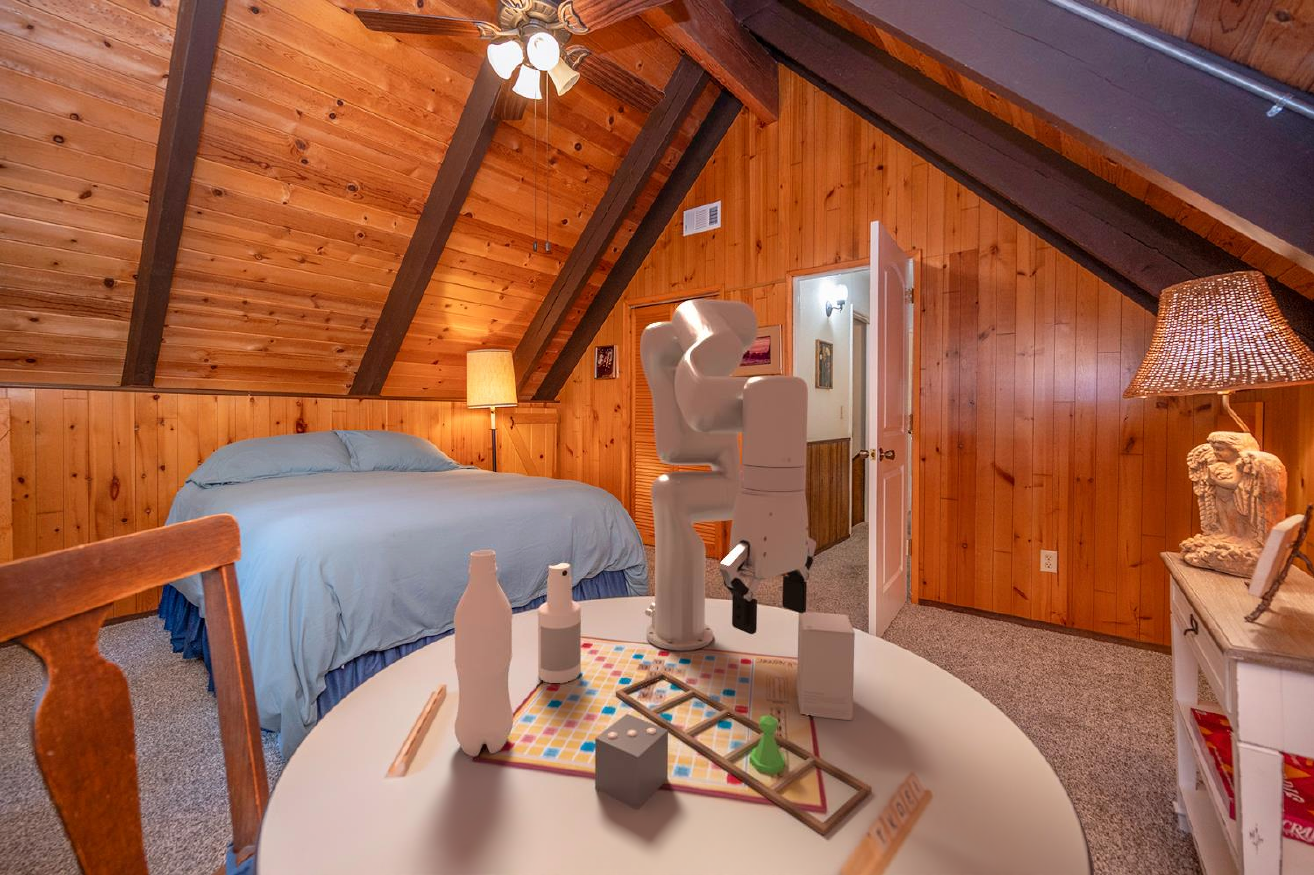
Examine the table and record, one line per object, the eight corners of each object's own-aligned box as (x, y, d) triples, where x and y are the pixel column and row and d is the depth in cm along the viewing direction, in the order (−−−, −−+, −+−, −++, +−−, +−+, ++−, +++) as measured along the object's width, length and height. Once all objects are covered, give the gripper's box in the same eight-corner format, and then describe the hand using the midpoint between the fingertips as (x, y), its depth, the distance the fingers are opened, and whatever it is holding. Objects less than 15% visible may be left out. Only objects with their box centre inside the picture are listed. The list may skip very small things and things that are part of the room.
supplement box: (853, 722, 76) (856, 633, 75) (798, 715, 77) (800, 628, 77) (846, 694, 83) (848, 613, 82) (796, 689, 84) (797, 609, 84)
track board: (615, 695, 82) (615, 691, 82) (664, 675, 89) (664, 671, 89) (823, 835, 55) (823, 830, 55) (871, 792, 62) (871, 786, 62)
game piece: (747, 751, 69) (748, 705, 69) (781, 752, 69) (782, 706, 69) (752, 773, 65) (753, 725, 64) (788, 774, 65) (789, 725, 64)
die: (595, 788, 62) (595, 736, 62) (626, 760, 67) (627, 712, 67) (637, 810, 59) (637, 755, 58) (667, 779, 64) (668, 728, 63)
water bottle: (524, 734, 72) (523, 548, 71) (490, 767, 65) (489, 563, 64) (479, 723, 75) (477, 544, 73) (442, 754, 68) (439, 557, 67)
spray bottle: (551, 689, 84) (551, 574, 83) (530, 673, 89) (530, 564, 88) (588, 675, 88) (588, 566, 87) (566, 660, 93) (566, 557, 93)
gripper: (790, 471, 73) (787, 595, 74) (699, 482, 62) (697, 628, 63) (840, 477, 68) (836, 611, 69) (751, 490, 56) (748, 650, 57)
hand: (770, 619), depth 66 cm, fingers open, 9 cm apart
